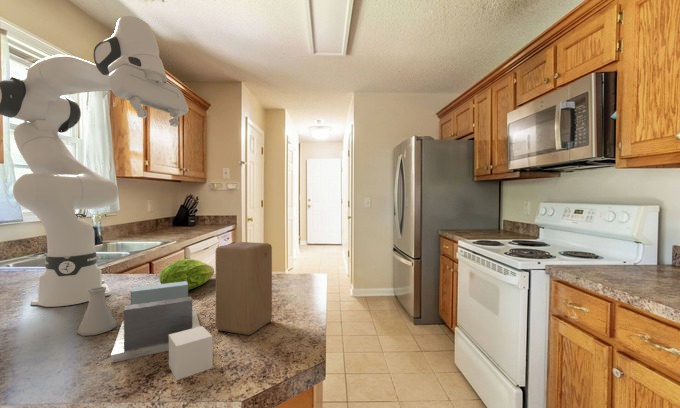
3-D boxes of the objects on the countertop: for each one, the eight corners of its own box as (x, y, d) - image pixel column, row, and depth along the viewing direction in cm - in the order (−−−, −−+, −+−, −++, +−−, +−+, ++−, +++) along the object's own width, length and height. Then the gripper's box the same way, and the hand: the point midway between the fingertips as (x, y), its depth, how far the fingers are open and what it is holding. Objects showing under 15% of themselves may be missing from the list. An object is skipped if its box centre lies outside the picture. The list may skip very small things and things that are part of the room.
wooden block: (273, 320, 78) (273, 242, 78) (249, 337, 69) (249, 248, 69) (240, 316, 82) (240, 241, 81) (214, 331, 72) (213, 246, 72)
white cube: (202, 355, 61) (202, 325, 61) (212, 368, 56) (212, 335, 56) (168, 366, 57) (168, 334, 57) (176, 380, 52) (176, 345, 52)
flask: (95, 338, 69) (94, 293, 68) (69, 335, 70) (68, 291, 70) (123, 325, 76) (123, 285, 76) (99, 323, 77) (99, 283, 77)
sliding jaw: (132, 319, 75) (132, 287, 75) (187, 310, 81) (186, 281, 81) (130, 324, 72) (130, 291, 71) (188, 315, 78) (187, 284, 77)
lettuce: (230, 265, 122) (206, 246, 123) (195, 277, 97) (166, 253, 99) (212, 289, 122) (189, 270, 123) (173, 307, 97) (144, 283, 99)
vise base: (122, 327, 74) (122, 288, 74) (195, 314, 82) (195, 279, 82) (110, 362, 58) (110, 313, 58) (202, 343, 66) (202, 299, 66)
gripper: (172, 92, 94) (183, 134, 93) (100, 64, 75) (113, 116, 73) (186, 83, 92) (198, 125, 91) (117, 52, 73) (130, 105, 71)
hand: (159, 121), depth 82 cm, fingers open, 8 cm apart
